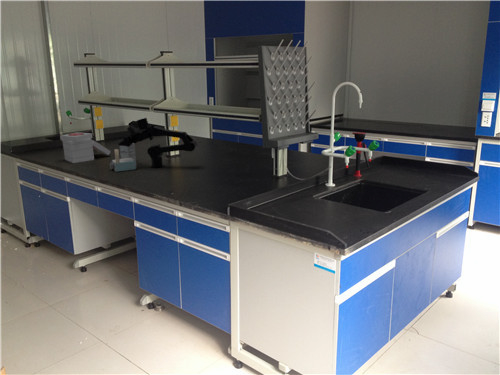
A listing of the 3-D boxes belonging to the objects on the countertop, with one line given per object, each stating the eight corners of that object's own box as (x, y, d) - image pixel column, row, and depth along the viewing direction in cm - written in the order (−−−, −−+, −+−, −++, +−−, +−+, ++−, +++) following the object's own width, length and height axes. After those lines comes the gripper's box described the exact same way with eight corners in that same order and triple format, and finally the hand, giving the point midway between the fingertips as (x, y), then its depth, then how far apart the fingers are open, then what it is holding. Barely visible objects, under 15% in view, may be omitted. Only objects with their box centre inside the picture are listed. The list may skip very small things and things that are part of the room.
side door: (136, 168, 276) (134, 147, 272) (137, 169, 274) (135, 147, 270) (115, 170, 270) (113, 149, 267) (116, 171, 268) (114, 150, 264)
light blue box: (131, 165, 284) (130, 157, 283) (135, 169, 276) (134, 160, 274) (109, 168, 278) (108, 160, 276) (112, 171, 270) (111, 163, 268)
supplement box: (120, 162, 295) (118, 144, 291) (128, 160, 301) (126, 142, 297) (128, 163, 291) (127, 145, 288) (136, 161, 298) (134, 143, 294)
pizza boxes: (112, 157, 312) (109, 132, 307) (71, 164, 292) (67, 137, 287) (101, 153, 325) (98, 129, 320) (60, 159, 306) (57, 134, 301)
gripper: (143, 121, 284) (123, 129, 287) (131, 126, 266) (110, 133, 270) (149, 137, 286) (129, 144, 290) (138, 143, 268) (117, 150, 272)
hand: (121, 143), depth 280 cm, fingers open, 9 cm apart
